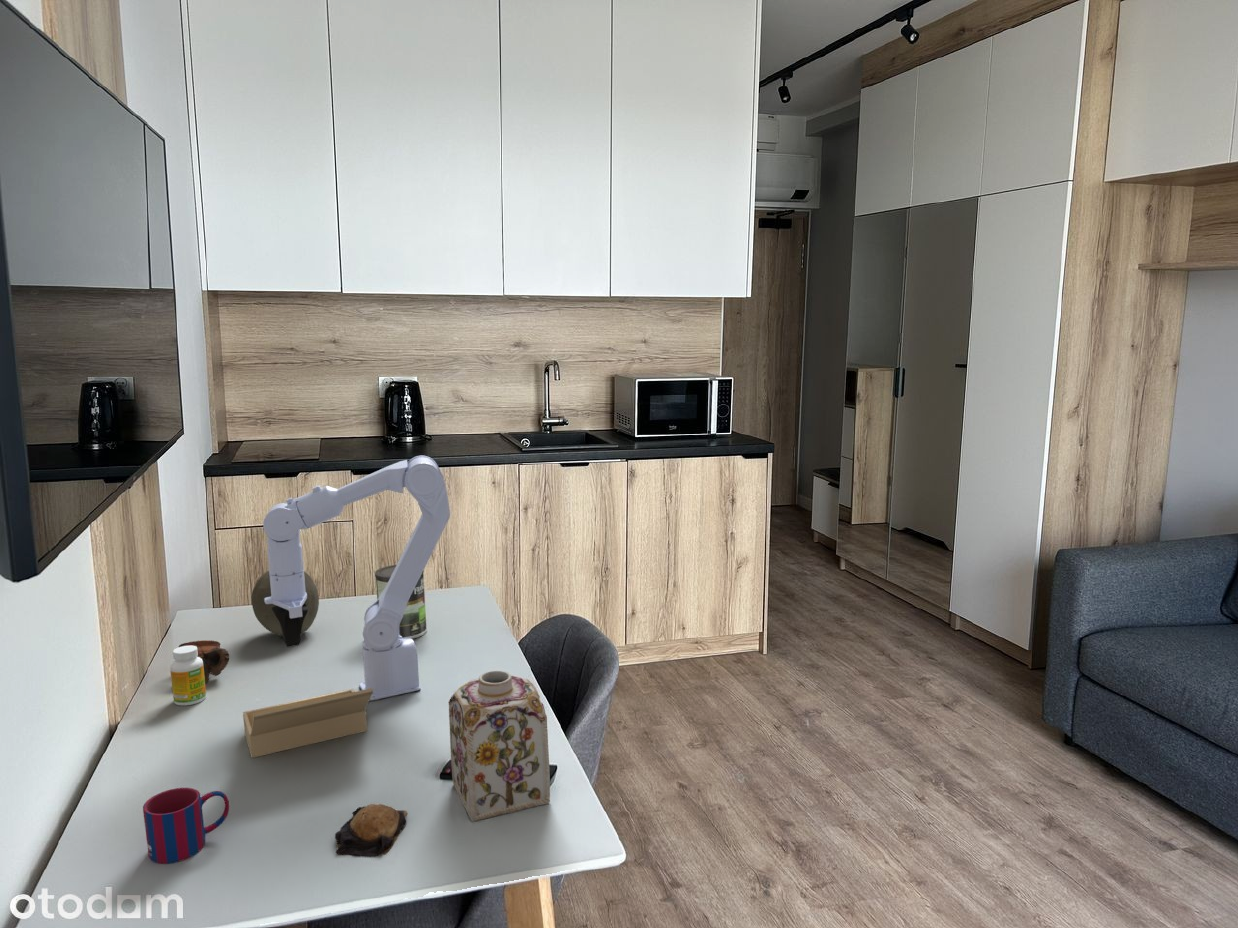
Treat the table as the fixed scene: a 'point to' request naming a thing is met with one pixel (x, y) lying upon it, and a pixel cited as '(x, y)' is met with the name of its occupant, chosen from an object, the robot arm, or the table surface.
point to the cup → (177, 824)
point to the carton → (302, 729)
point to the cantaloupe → (265, 610)
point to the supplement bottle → (187, 676)
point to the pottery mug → (210, 656)
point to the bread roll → (370, 831)
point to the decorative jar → (499, 745)
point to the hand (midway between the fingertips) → (292, 644)
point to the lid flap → (310, 712)
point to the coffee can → (415, 608)
